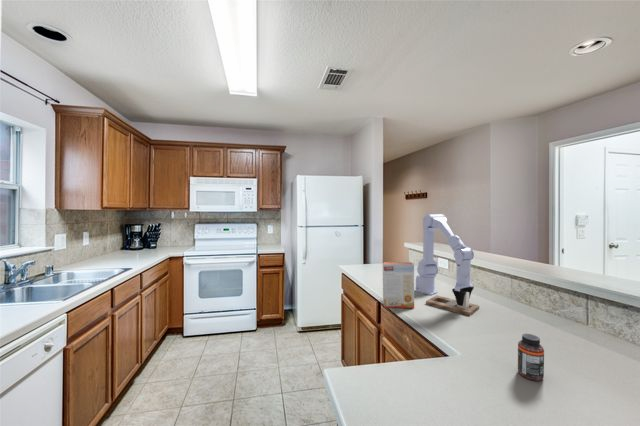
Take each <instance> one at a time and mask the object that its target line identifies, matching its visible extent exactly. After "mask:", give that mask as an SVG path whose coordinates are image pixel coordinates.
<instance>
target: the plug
mask: <svg viewBox="0 0 640 426" xmlns="http://www.w3.org/2000/svg"><path fill="white" fill-rule="evenodd" d="M469 303H470V299H469V292H466V294H465V296H464V301H463V305H462V306H460V305H457V307H459V308H463V309H467V310H468V309H469Z"/></svg>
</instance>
